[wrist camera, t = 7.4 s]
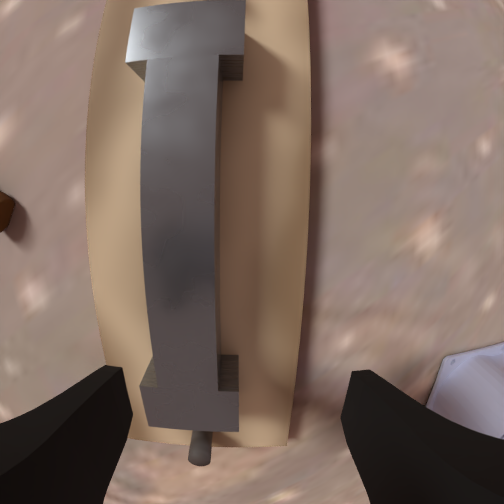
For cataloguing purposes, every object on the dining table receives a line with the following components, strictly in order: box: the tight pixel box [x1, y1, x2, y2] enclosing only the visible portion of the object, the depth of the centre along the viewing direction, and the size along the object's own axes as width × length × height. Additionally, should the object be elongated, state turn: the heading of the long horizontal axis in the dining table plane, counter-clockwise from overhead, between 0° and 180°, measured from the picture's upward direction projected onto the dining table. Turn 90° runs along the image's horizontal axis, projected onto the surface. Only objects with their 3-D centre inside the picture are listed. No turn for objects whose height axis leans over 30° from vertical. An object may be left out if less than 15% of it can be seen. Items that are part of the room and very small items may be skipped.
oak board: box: [85, 0, 311, 466], centre depth 15 cm, size 12×32×4 cm, turn 179°
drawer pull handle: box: [125, 0, 246, 432], centre depth 14 cm, size 5×21×4 cm, turn 179°
